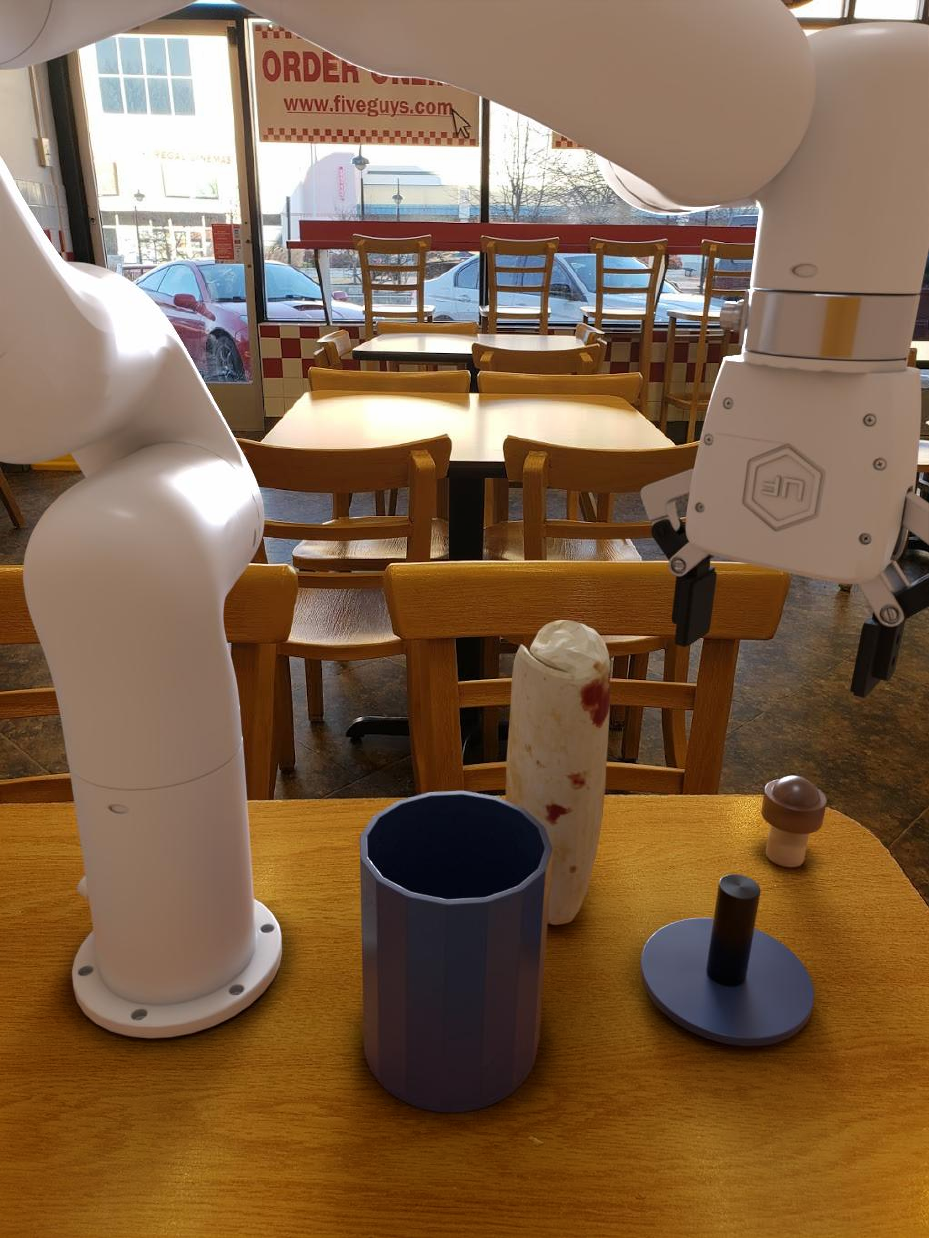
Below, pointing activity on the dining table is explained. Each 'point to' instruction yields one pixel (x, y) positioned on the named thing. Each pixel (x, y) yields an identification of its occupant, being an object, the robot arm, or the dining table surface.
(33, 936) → the dining table surface
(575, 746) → the food model
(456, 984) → the pot
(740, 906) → the lid
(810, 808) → the mushroom
